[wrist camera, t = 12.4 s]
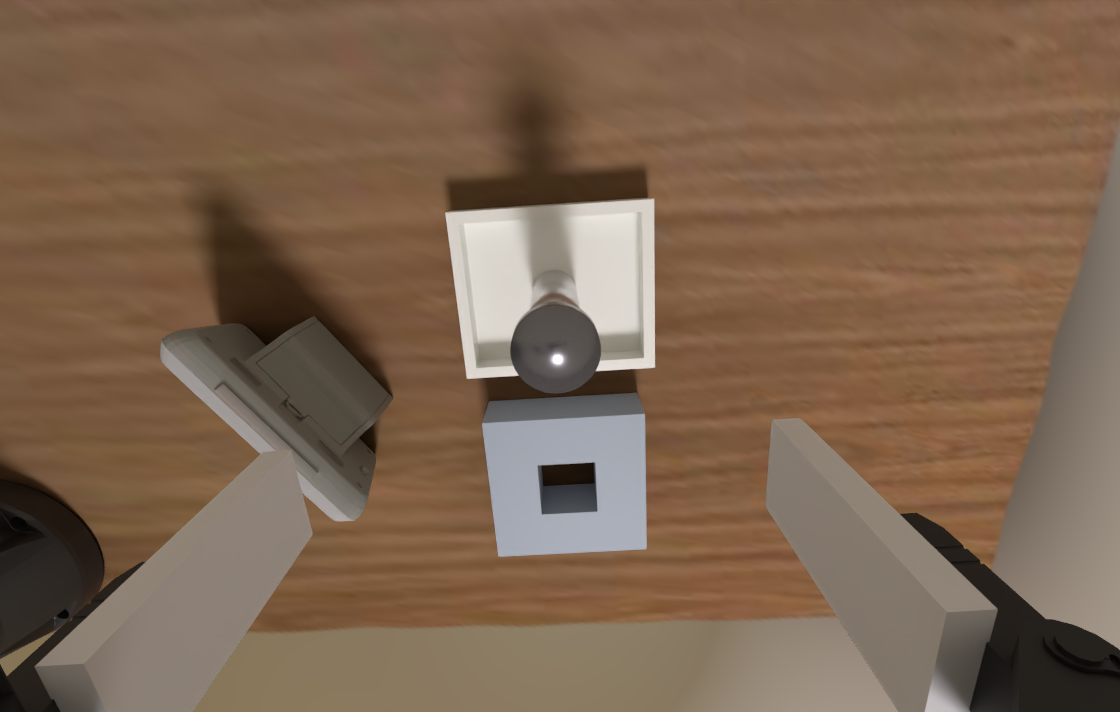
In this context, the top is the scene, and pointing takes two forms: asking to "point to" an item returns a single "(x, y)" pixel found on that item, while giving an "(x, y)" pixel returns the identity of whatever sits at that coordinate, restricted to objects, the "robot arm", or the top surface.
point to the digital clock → (289, 402)
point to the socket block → (567, 438)
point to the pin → (555, 337)
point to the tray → (555, 244)
